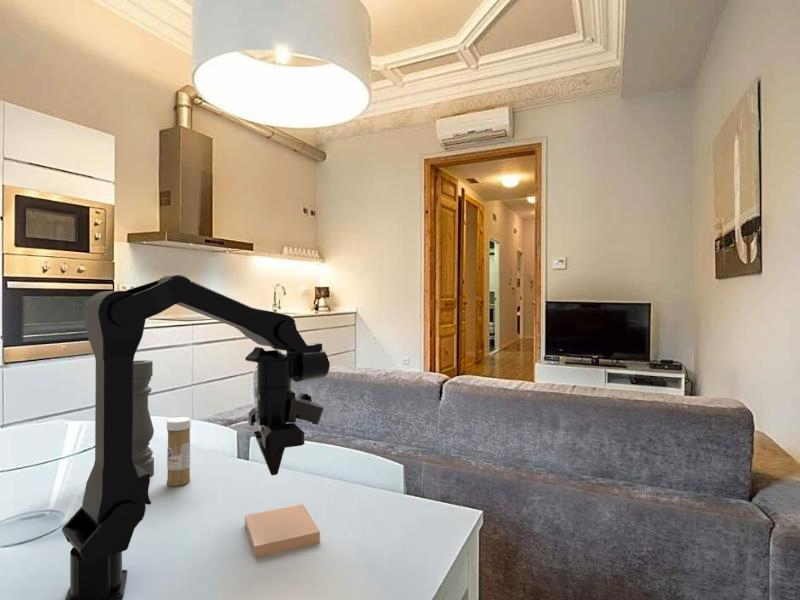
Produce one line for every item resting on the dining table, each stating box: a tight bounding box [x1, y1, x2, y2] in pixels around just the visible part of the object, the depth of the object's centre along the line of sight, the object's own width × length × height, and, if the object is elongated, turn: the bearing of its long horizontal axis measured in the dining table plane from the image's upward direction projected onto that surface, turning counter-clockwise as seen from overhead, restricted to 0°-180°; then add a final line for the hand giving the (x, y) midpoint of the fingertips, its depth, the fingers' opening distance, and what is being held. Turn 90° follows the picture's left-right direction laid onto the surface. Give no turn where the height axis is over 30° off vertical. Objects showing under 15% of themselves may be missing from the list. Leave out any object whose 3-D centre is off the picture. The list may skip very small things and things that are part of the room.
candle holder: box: [133, 359, 155, 478], centre depth 101 cm, size 6×6×25 cm
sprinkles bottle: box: [166, 416, 192, 487], centre depth 98 cm, size 5×5×14 cm
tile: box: [244, 503, 321, 558], centre depth 76 cm, size 2×10×11 cm
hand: (274, 474), depth 81 cm, fingers closed
